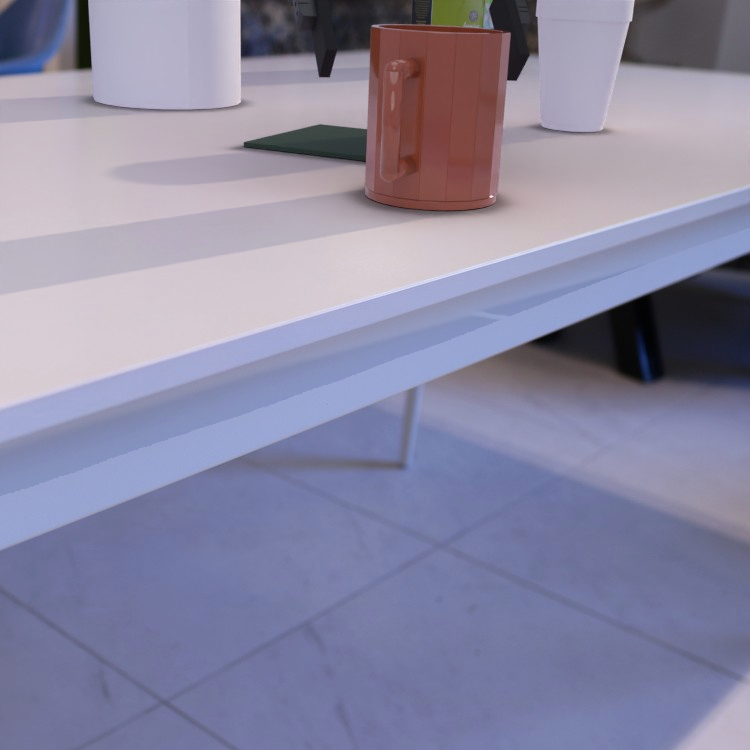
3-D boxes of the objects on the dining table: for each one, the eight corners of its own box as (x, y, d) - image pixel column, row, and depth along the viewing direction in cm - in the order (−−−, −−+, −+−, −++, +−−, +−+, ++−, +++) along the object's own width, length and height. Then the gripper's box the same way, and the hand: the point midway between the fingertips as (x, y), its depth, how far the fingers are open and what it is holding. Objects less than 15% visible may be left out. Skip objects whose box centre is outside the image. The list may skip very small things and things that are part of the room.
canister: (186, 89, 127) (181, -92, 120) (270, 104, 116) (271, -93, 109) (65, 95, 116) (52, -103, 109) (146, 113, 106) (138, -106, 98)
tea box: (518, 71, 168) (526, -27, 163) (479, 74, 161) (486, -29, 156) (446, 63, 178) (451, -30, 173) (406, 65, 171) (411, -32, 166)
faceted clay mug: (396, 179, 78) (404, 22, 74) (512, 193, 75) (527, 30, 71) (319, 208, 67) (323, 28, 63) (451, 227, 64) (464, 37, 60)
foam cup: (544, 133, 103) (557, -7, 99) (513, 120, 112) (524, -10, 107) (633, 134, 105) (651, -3, 101) (596, 121, 114) (611, -6, 109)
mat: (456, 143, 96) (456, 138, 95) (395, 164, 84) (395, 159, 83) (319, 128, 101) (319, 124, 101) (243, 146, 89) (243, 142, 89)
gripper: (513, -108, 86) (572, 103, 78) (207, -129, 80) (237, 99, 72) (546, -189, 79) (614, 33, 71) (215, -219, 73) (249, 21, 65)
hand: (425, 66), depth 72 cm, fingers open, 13 cm apart
